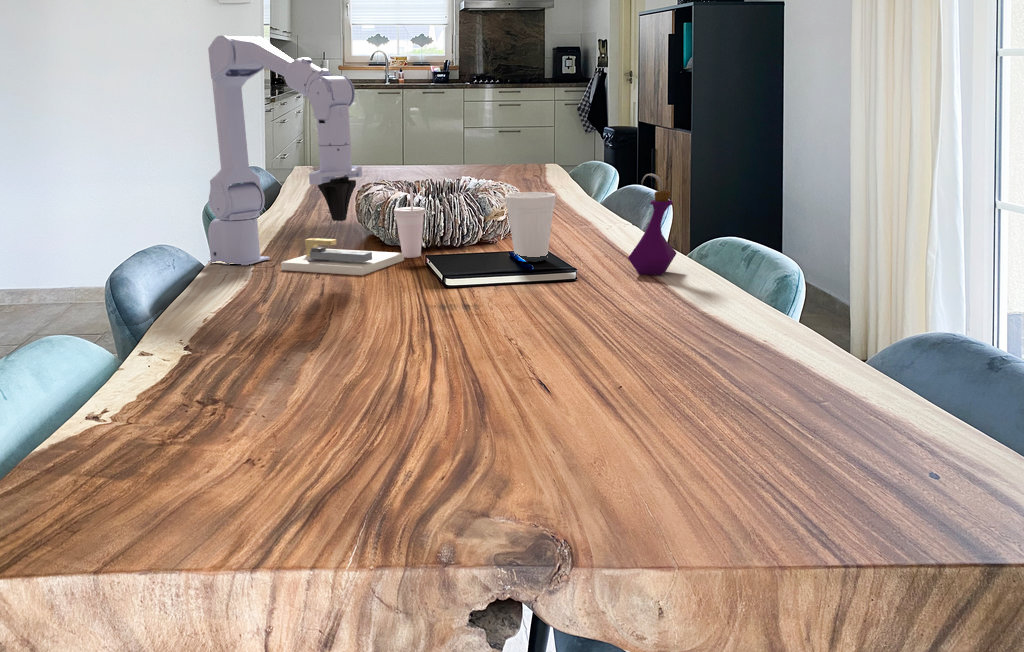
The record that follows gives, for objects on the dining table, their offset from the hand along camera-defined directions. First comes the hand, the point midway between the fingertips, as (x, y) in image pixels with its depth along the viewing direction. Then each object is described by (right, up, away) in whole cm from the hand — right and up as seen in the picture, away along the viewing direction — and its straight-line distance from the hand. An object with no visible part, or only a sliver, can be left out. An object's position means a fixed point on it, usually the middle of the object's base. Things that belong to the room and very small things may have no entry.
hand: (339, 220), depth 184 cm
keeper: (-6, -5, +16) cm, 18 cm away
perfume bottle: (+57, -10, 0) cm, 58 cm away
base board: (-1, -7, +14) cm, 16 cm away
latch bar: (-1, -6, +9) cm, 11 cm away
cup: (+35, -7, +13) cm, 38 cm away
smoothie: (+11, -5, +22) cm, 25 cm away
